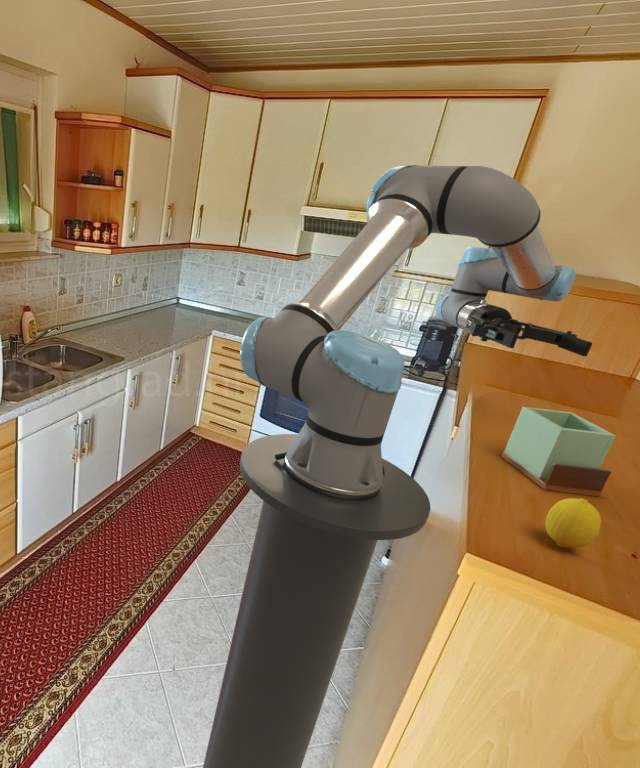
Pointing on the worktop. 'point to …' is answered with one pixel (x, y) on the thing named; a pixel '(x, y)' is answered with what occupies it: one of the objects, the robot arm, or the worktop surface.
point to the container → (556, 441)
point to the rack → (568, 478)
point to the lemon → (573, 523)
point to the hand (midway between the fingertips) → (550, 345)
